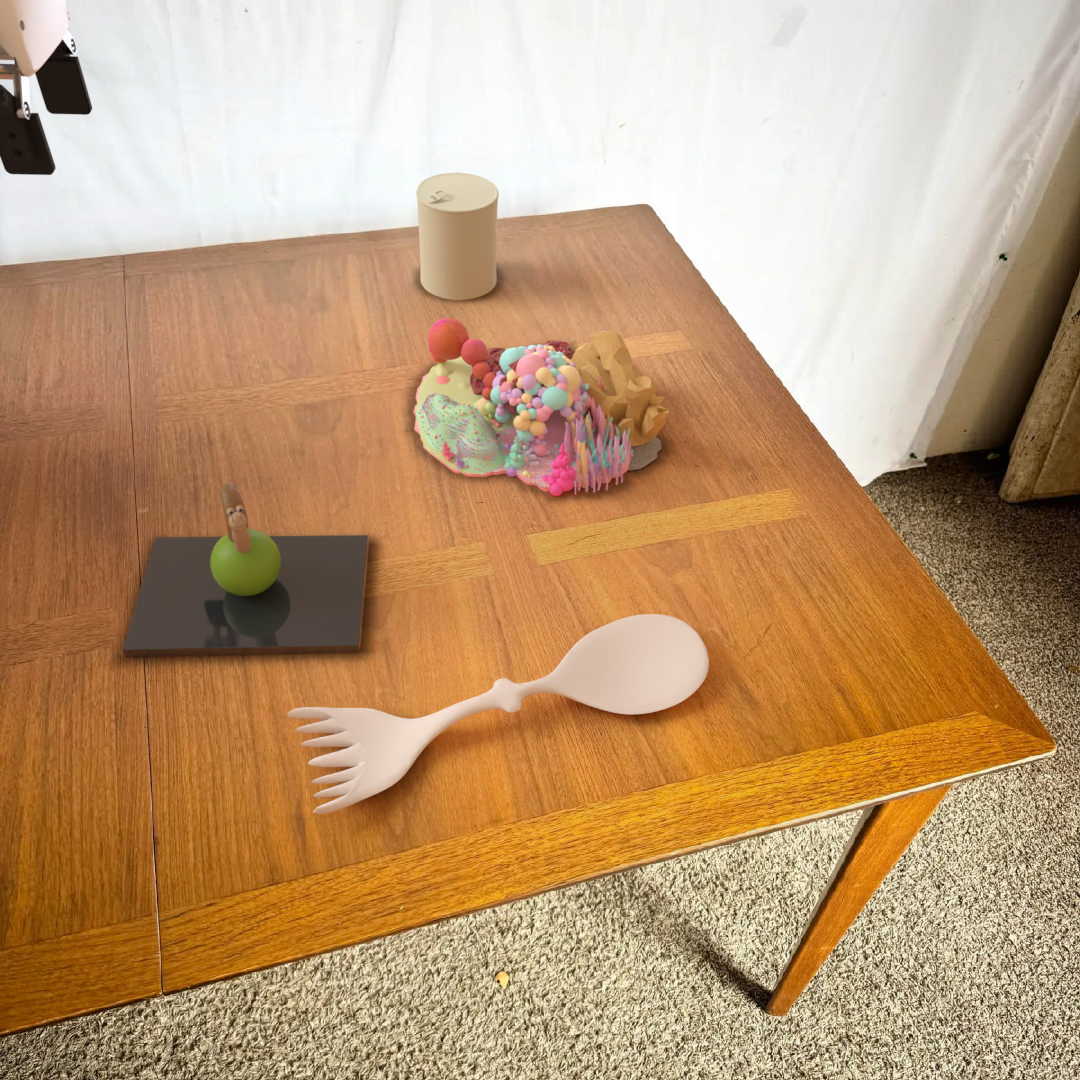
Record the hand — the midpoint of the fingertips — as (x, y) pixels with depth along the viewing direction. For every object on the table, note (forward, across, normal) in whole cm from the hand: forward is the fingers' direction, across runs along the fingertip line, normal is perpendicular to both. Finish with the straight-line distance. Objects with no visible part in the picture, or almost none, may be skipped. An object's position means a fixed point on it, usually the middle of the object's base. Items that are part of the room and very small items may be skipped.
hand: (52, 141), depth 69 cm
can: (+31, -31, +29) cm, 52 cm away
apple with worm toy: (+29, +18, +12) cm, 36 cm away
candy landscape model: (+31, -5, +37) cm, 48 cm away
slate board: (+30, +18, +12) cm, 37 cm away
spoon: (+31, +30, +33) cm, 54 cm away
